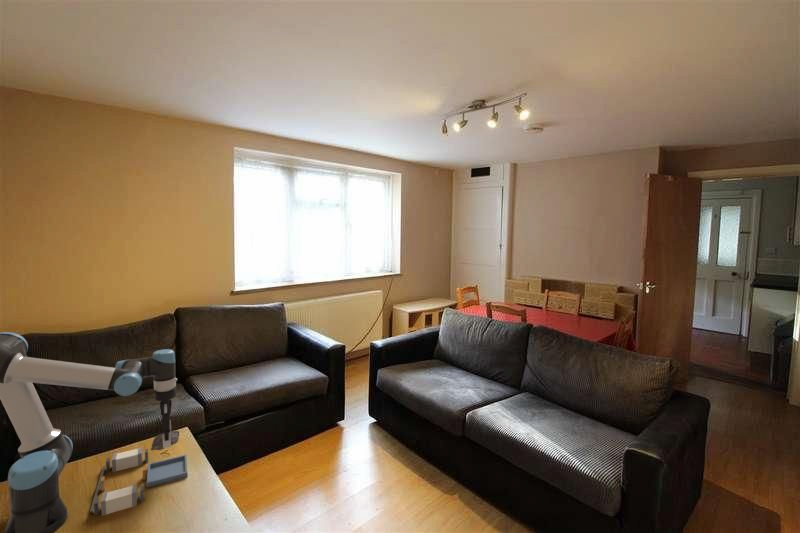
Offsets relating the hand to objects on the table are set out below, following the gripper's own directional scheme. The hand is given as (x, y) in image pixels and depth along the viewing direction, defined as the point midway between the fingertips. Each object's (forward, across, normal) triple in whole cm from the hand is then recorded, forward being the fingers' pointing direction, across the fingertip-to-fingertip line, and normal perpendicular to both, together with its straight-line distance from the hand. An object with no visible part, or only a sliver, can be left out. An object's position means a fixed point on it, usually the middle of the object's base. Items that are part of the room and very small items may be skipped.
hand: (167, 441), depth 154 cm
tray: (+14, 0, 0) cm, 14 cm away
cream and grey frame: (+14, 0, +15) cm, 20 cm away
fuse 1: (+14, +14, +15) cm, 24 cm away
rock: (+1, 0, 0) cm, 1 cm away
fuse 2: (+14, -14, +15) cm, 24 cm away
